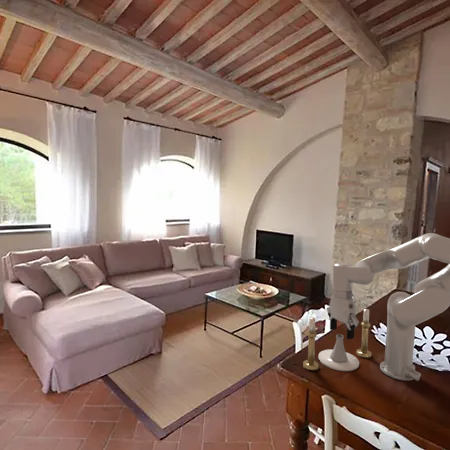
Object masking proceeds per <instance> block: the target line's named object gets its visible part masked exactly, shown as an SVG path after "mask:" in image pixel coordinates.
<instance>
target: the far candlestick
mask: <svg viewBox="0 0 450 450" xmlns="http://www.w3.org/2000/svg"><path fill="white" fill-rule="evenodd" d="M362 318H363V319H362V321H361V322H360V325H361V328H362V329H361V342H360V343H361V346H360V348H358V349H356V352H355V353H356V354H355V355H357V357H359V358H363V359H371V358H372V355H373V354H372V352H371V351H370V350H368V342H369V328H371V323H370V322H369V320H370V309H368V308H364V309H363V315H362Z"/></svg>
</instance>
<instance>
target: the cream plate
mask: <svg viewBox="0 0 450 450" xmlns="http://www.w3.org/2000/svg"><path fill="white" fill-rule="evenodd" d="M333 349H334V348H333ZM333 349H324V350H322V351H319V353H318V357H317V358H318V360H320V361H319V362H320V363H321V364H322V365H323V366H325V367H326V368H329V369H332V370H335V371H340V372H353V371H355V370H358V368H359V367H360V361H359V359H358V358H357V357H356V356H355V355H353V354H351V353H349V352H346V351H345V352H346V355H347V358H348V360H347V362H344V363H339V362H336V361H333V360H332V359H331V358H330V355H331V353H332V351H333Z"/></svg>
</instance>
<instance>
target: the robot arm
mask: <svg viewBox="0 0 450 450" xmlns="http://www.w3.org/2000/svg"><path fill="white" fill-rule="evenodd" d="M428 259H432V260H435V261H438V262H441V263H445V264H447V265H446V266H445V267H444V268H442V269H441V270H439V271H437V272H435V273H433V274H432V275H430V276H428V277H426V278H424V279H422V280H420V281H418V282H417V283H416V284H415V287H414V294H412V295H411V294H409V293H407V292H405V291H395V292H394V293H392V294H391V295H390V296H389V298H388V299H387V306H386V307H387V309H386V310H387V311H386V313H387V315H386V318H387V319H386V321H387V322H386V332H385V333H386V336H385V351H384V361H382V362H380V364H379V369H380V371H381V372H382V373H383V374H385V375H386V376H388V377H390V378H392V379H395V380H399V381H404V382H405V381H413V380H415V381H417V382H418V381H419V380H420V378H421V376H422V374H421V372H418V371H416V365H415V364H413V363H414V349H415V348H414V347H415V338H416V337H415V335H416V326H417V325H419V324H421V323H424V322H425V321H428V320H430V319H432V318H435V317H436V316H438V315H440V314H441V313H444V312H445V311H446V310H447V309H448V308H449V307H450V237H446V236H443V235H440V234H438V233H434V232H429V233H425V234H422V235H420V236H417V237H414V238H413V239H410V240H409V241H406V242H404V243H401V244H399V245H397V246H394V247H393V248H390V249H389V248H388V249H386V250H384V251H381V252H378V253H375V254H373V255H370V256H367V257H366V258H364V259H361V260H359V261H357V262H356V263H355V264H354V265H352V264H351V263H348V262H335V263H334V264H333V267H332V295H331V299H330V306H328V307H326V311H327V316H328V320H329V330H330V331H333V330H334V331H335V330H337V329H338V322H341V323H343V324H345V325H346V327H347V329H346V340H352V339H355V330H357V329H356V328H357V327H358V326H359V324H360V321H359V320H358V318H357V317H356V305H355V304H356V303H355V299H354V298H353V296H354V294H353V284H358V285H363V286H364V285H370V284H371V283H373V281H374V279H375V275H377V274H379V273H381V272H384V271H387V270H388V271H389V270H395V269H396V270H401V269H406V268H409V267H412V266H414V265H416V264H418V263H421V262H422V261H426V260H428Z"/></svg>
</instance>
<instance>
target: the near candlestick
mask: <svg viewBox="0 0 450 450" xmlns="http://www.w3.org/2000/svg"><path fill="white" fill-rule="evenodd" d="M308 319H309V321H308V331H306V335H307V337H308V345H307V346H308V347H307V349H308V350H307V359H306V360H304V361H302V367H303V368H304V369H305V368H306V369H308V370H307V371H309V370H313V371H312V372H315V371H314V370H316V371H318V370H319V362H317V361H316V360H315V349H316V348H315V347H316V344H315V343H316V337H317V336H318V335H317V334H318V333H317V331H316V318H315V317H314V316H313V317H309V318H308ZM306 369H305V370H306Z"/></svg>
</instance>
